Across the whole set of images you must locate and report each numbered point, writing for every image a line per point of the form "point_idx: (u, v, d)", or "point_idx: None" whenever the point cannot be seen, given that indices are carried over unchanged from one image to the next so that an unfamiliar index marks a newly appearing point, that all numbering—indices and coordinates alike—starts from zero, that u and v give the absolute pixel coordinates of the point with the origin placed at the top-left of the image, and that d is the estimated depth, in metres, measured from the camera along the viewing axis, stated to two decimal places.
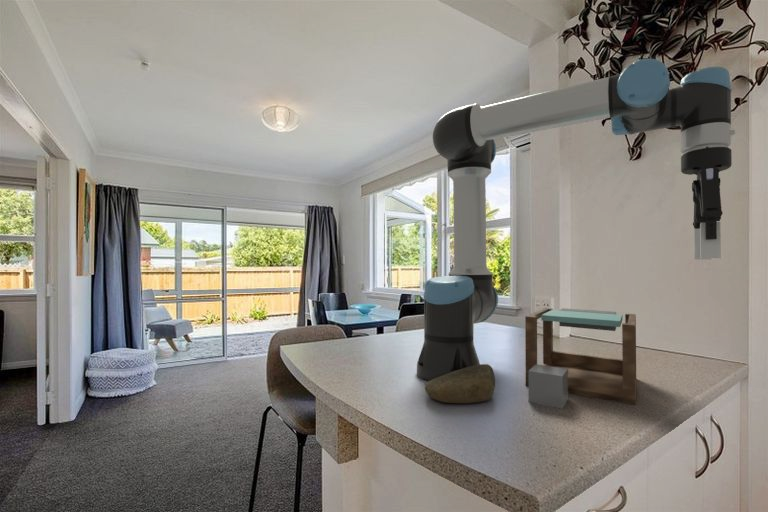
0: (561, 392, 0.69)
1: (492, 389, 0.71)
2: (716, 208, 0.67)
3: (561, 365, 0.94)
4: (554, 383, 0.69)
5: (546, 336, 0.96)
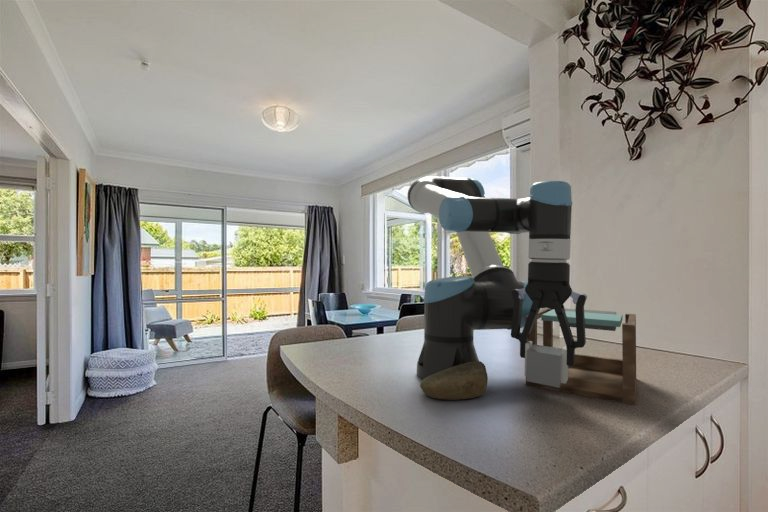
0: (558, 371, 0.69)
1: (485, 385, 0.73)
2: None
3: None
4: (552, 362, 0.70)
5: (546, 336, 0.96)
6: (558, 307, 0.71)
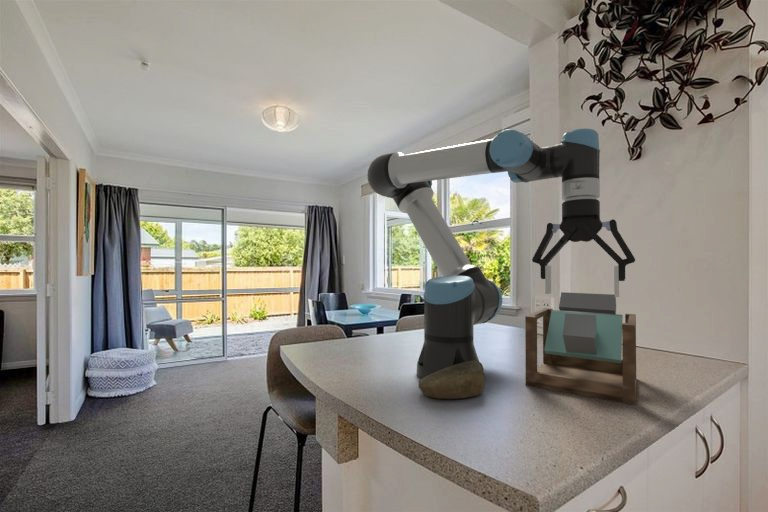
0: (594, 346, 0.79)
1: (483, 384, 0.74)
2: (546, 255, 0.87)
3: (561, 365, 0.94)
4: (587, 341, 0.79)
5: (546, 336, 0.96)
6: (595, 235, 0.80)
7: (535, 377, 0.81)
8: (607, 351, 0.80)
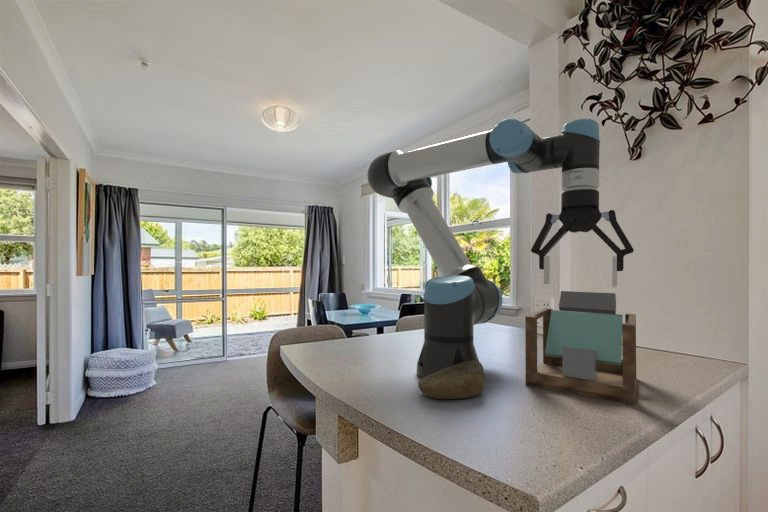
0: (595, 380, 0.77)
1: (483, 384, 0.74)
2: None
3: (561, 365, 0.94)
4: None
5: (546, 336, 0.96)
6: (594, 226, 0.80)
7: (535, 377, 0.81)
8: (607, 353, 0.81)
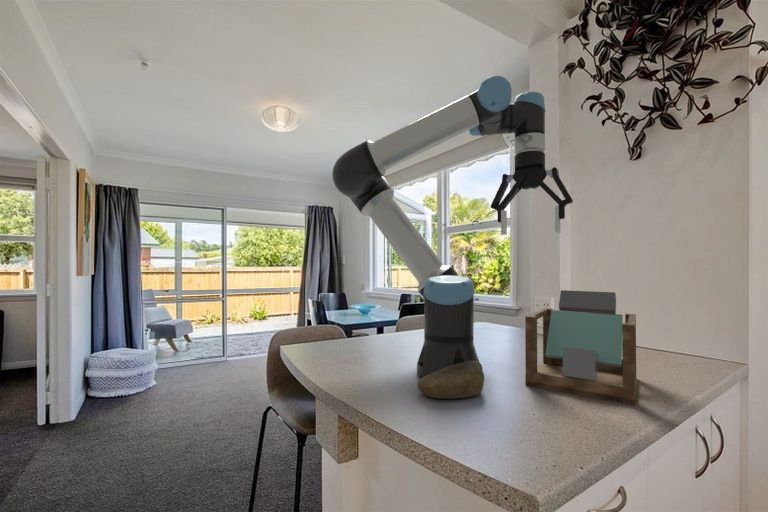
0: None
1: (482, 384, 0.74)
2: None
3: (561, 365, 0.94)
4: None
5: (546, 336, 0.96)
6: (540, 181, 0.95)
7: (535, 377, 0.81)
8: (607, 355, 0.81)
